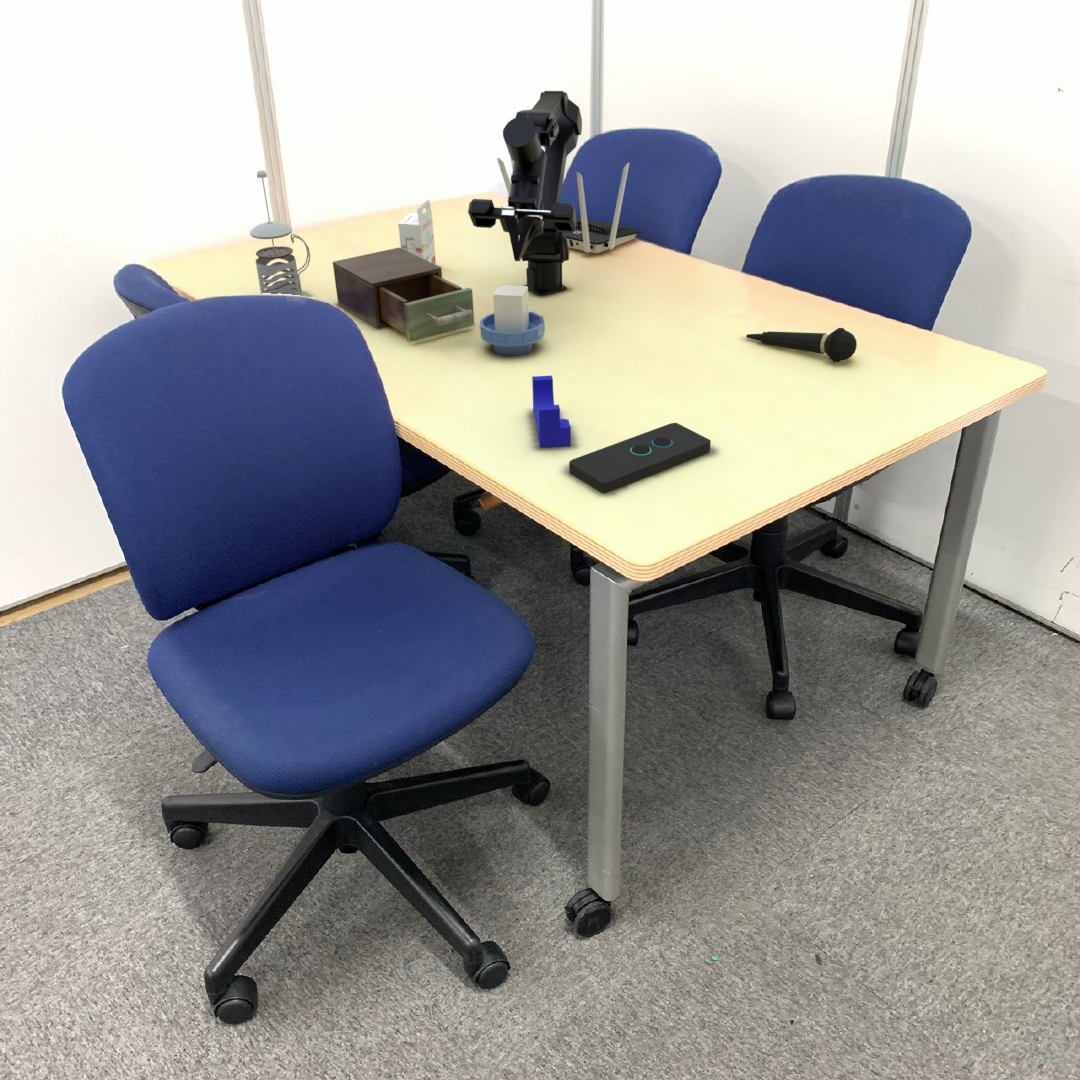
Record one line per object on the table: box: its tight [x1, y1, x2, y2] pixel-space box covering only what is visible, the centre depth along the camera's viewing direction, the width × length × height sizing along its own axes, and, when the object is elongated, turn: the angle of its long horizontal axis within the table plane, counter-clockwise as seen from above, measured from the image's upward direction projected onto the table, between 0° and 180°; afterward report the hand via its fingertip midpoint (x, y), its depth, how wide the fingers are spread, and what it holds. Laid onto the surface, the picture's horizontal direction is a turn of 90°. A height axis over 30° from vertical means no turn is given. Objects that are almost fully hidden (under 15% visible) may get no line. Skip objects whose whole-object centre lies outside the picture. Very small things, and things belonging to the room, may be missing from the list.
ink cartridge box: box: [397, 198, 437, 265], centre depth 214 cm, size 9×5×15 cm, turn 168°
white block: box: [493, 284, 530, 333], centre depth 178 cm, size 5×5×7 cm
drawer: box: [376, 274, 475, 343], centre depth 187 cm, size 21×13×7 cm, turn 35°
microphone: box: [745, 327, 858, 364], centre depth 176 cm, size 6×6×20 cm
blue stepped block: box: [531, 375, 572, 449], centre depth 152 cm, size 12×4×6 cm, turn 5°
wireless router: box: [496, 156, 642, 254], centre depth 228 cm, size 34×23×20 cm
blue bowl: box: [479, 311, 546, 356], centre depth 180 cm, size 11×11×5 cm
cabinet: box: [332, 247, 443, 329], centre depth 198 cm, size 17×15×9 cm
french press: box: [249, 170, 311, 297], centre depth 199 cm, size 10×12×25 cm
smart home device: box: [568, 422, 712, 494], centre depth 144 cm, size 8×2×20 cm
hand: (516, 260), depth 180 cm, fingers closed
